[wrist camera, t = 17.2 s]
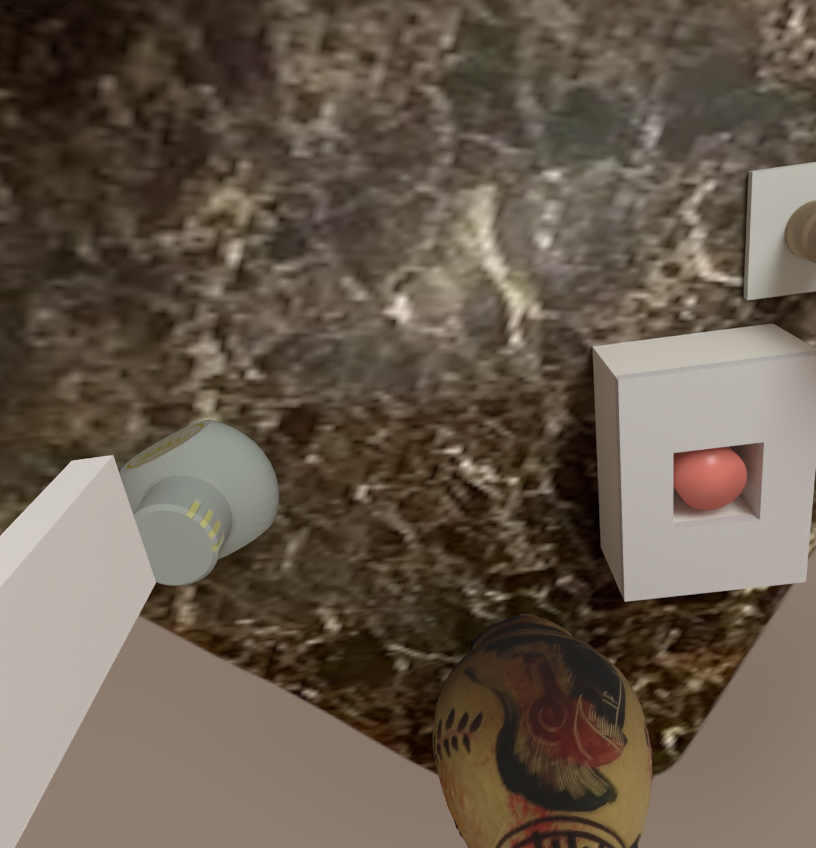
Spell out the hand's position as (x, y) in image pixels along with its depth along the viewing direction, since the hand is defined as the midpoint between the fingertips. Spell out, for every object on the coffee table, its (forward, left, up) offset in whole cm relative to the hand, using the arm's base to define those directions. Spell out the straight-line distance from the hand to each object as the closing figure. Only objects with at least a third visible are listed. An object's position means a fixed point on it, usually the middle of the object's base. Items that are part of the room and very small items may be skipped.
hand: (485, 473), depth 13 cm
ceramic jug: (+37, +4, -37) cm, 52 cm away
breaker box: (+18, +16, -37) cm, 44 cm away
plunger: (+18, +16, -36) cm, 43 cm away
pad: (+4, +24, -37) cm, 44 cm away
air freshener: (+16, -18, -37) cm, 44 cm away
